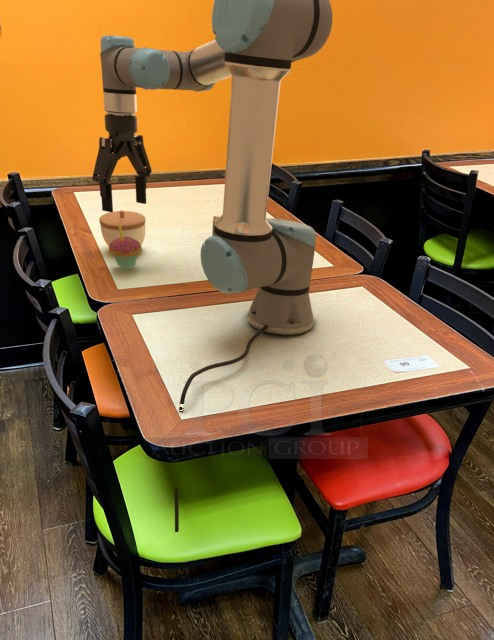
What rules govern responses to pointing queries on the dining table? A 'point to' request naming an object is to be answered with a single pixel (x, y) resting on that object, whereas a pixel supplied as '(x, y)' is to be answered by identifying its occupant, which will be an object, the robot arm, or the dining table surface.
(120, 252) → the cupcake
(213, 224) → the pepper shaker
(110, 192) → the robot arm
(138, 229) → the lidded bowl
